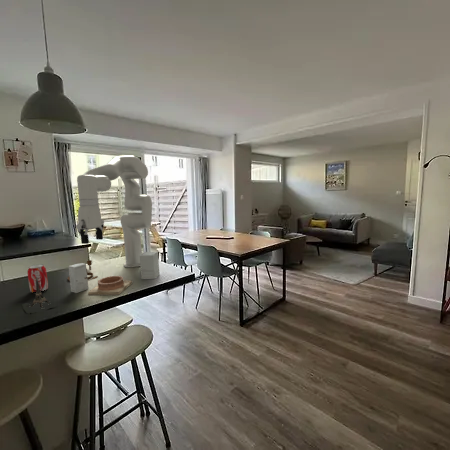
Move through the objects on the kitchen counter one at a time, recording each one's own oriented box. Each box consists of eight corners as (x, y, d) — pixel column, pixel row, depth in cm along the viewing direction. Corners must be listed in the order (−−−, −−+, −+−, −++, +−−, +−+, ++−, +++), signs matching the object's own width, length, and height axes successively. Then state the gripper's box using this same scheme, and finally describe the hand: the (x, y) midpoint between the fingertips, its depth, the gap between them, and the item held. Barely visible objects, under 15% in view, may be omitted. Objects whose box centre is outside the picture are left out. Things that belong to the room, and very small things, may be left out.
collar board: (104, 283, 130) (104, 274, 130) (132, 283, 129) (131, 274, 129) (88, 294, 116) (87, 285, 116) (118, 294, 115) (118, 285, 115)
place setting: (58, 281, 137) (56, 270, 136) (89, 269, 155) (88, 259, 154) (83, 284, 131) (82, 273, 130) (113, 271, 149) (112, 261, 148)
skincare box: (76, 293, 118) (73, 267, 116) (70, 291, 120) (67, 266, 119) (89, 288, 124) (86, 263, 122) (83, 287, 126) (80, 262, 124)
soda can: (28, 295, 118) (25, 269, 116) (31, 290, 124) (28, 265, 122) (47, 292, 121) (44, 266, 119) (49, 287, 127) (46, 262, 125)
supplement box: (160, 274, 141) (158, 251, 139) (155, 279, 134) (153, 255, 132) (146, 274, 142) (144, 251, 140) (140, 279, 134) (139, 255, 133)
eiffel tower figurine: (20, 305, 109) (16, 274, 107) (49, 297, 116) (45, 268, 114) (26, 317, 98) (21, 283, 96) (57, 308, 105) (53, 276, 103)
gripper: (94, 202, 126) (97, 237, 128) (66, 204, 109) (71, 245, 111) (108, 202, 124) (111, 237, 127) (83, 204, 108) (87, 245, 110)
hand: (92, 241), depth 119 cm, fingers open, 9 cm apart
